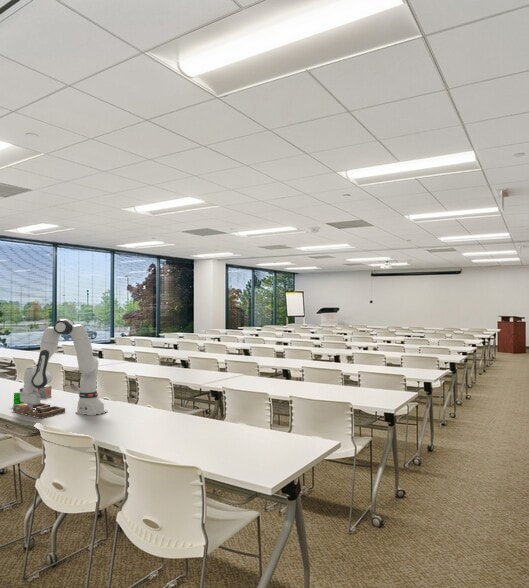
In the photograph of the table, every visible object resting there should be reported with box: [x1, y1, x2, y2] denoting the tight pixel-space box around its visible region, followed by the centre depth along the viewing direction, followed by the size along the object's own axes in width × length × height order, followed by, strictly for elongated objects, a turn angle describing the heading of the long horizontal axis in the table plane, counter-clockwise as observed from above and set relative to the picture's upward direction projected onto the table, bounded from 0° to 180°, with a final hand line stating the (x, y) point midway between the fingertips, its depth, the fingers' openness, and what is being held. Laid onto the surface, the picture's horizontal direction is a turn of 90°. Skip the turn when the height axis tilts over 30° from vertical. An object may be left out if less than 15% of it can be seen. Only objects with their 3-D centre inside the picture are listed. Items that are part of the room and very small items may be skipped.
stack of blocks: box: [37, 384, 53, 399], centre depth 371 cm, size 21×6×12 cm, turn 65°
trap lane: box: [12, 402, 66, 419], centre depth 317 cm, size 33×20×4 cm, turn 58°
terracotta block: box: [19, 404, 34, 412], centre depth 319 cm, size 8×6×4 cm
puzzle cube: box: [13, 390, 25, 405], centre depth 338 cm, size 10×10×10 cm
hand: (29, 409), depth 315 cm, fingers closed
